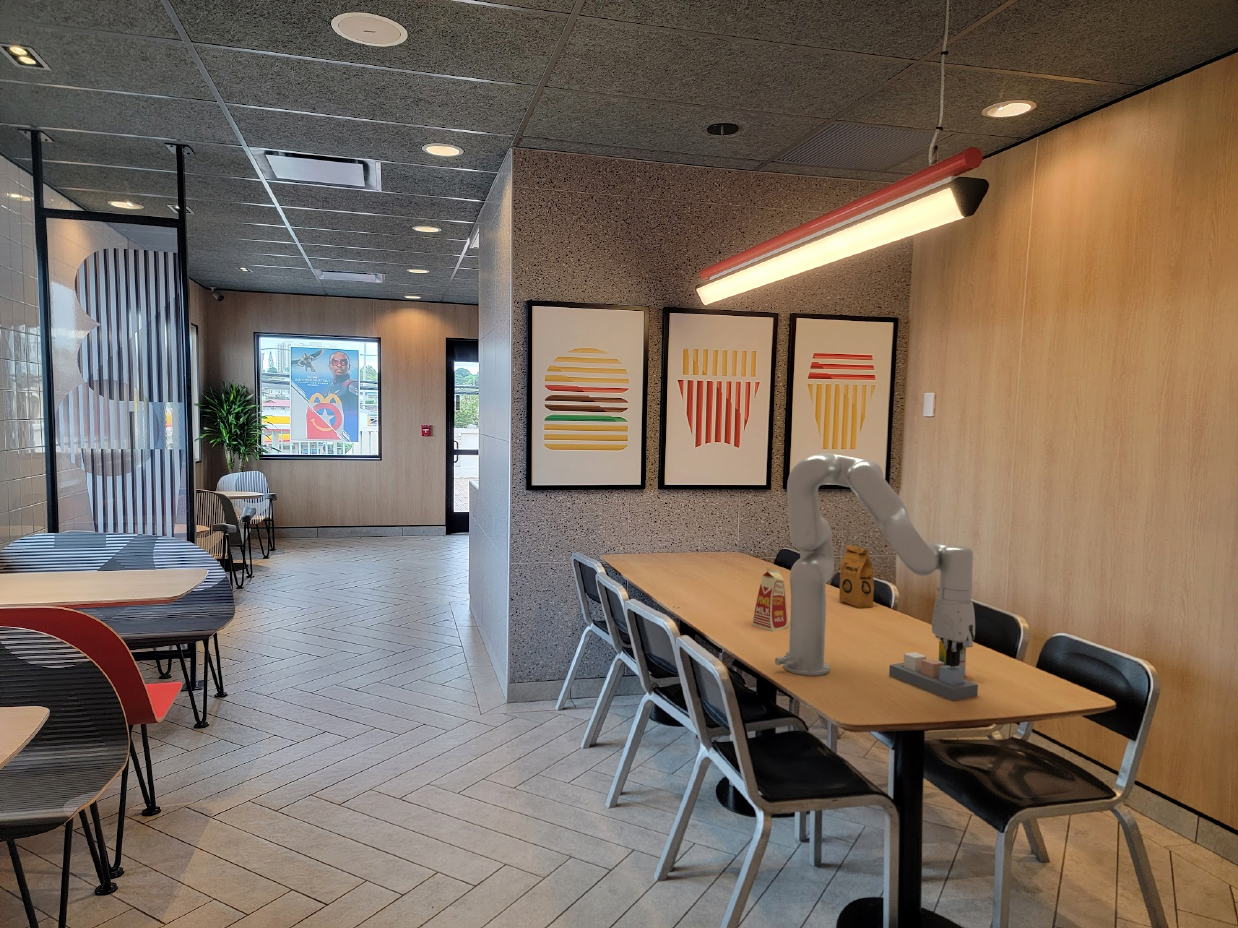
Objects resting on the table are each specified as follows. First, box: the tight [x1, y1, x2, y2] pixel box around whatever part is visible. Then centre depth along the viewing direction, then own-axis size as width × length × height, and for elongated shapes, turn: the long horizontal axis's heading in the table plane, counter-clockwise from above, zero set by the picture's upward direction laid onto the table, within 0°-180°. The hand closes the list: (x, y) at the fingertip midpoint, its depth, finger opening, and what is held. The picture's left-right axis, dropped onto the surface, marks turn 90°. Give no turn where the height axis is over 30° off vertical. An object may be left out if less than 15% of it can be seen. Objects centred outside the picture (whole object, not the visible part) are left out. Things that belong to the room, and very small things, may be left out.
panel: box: [888, 662, 979, 702], centre depth 208 cm, size 9×21×3 cm, turn 26°
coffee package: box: [838, 544, 875, 609], centre depth 299 cm, size 10×12×22 cm
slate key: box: [939, 665, 964, 686], centre depth 203 cm, size 4×4×4 cm
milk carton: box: [751, 567, 789, 632], centre depth 265 cm, size 9×9×20 cm
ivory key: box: [903, 651, 927, 672], centre depth 214 cm, size 4×4×4 cm
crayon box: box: [938, 640, 967, 676], centre depth 217 cm, size 7×3×12 cm, turn 113°
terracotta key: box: [921, 657, 944, 678], centre depth 208 cm, size 4×4×4 cm
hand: (952, 665), depth 203 cm, fingers closed
